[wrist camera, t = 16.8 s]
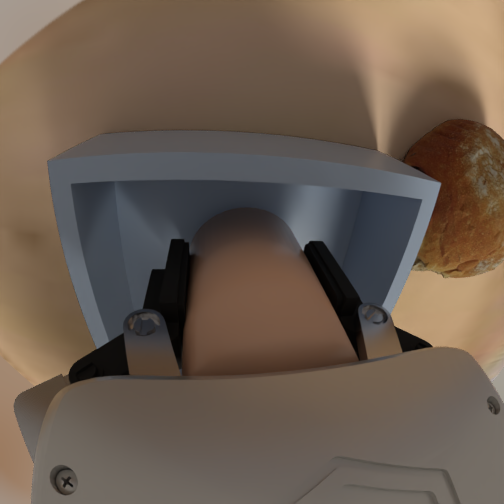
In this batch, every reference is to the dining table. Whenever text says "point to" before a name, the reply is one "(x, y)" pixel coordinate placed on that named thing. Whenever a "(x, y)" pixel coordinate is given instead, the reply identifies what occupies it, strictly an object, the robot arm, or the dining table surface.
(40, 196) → the dining table surface
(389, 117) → the dining table surface
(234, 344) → the terracotta cylinder
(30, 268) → the dining table surface
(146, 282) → the tote
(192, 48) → the dining table surface
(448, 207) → the bread roll
